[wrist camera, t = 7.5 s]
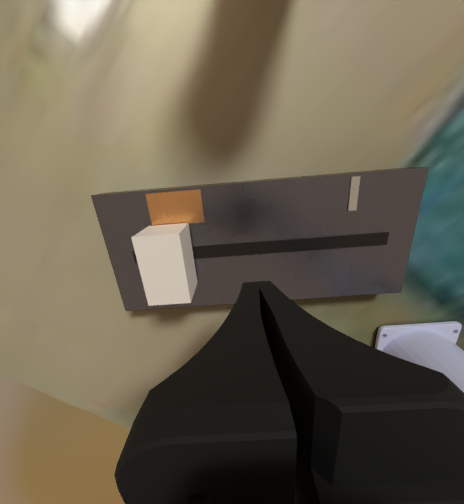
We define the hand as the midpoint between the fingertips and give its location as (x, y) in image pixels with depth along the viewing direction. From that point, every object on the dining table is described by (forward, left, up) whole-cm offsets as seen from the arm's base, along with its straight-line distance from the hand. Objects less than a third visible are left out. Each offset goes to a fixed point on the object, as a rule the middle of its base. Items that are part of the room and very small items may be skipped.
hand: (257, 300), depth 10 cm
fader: (0, +6, -7) cm, 9 cm away
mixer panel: (0, -1, -9) cm, 9 cm away
